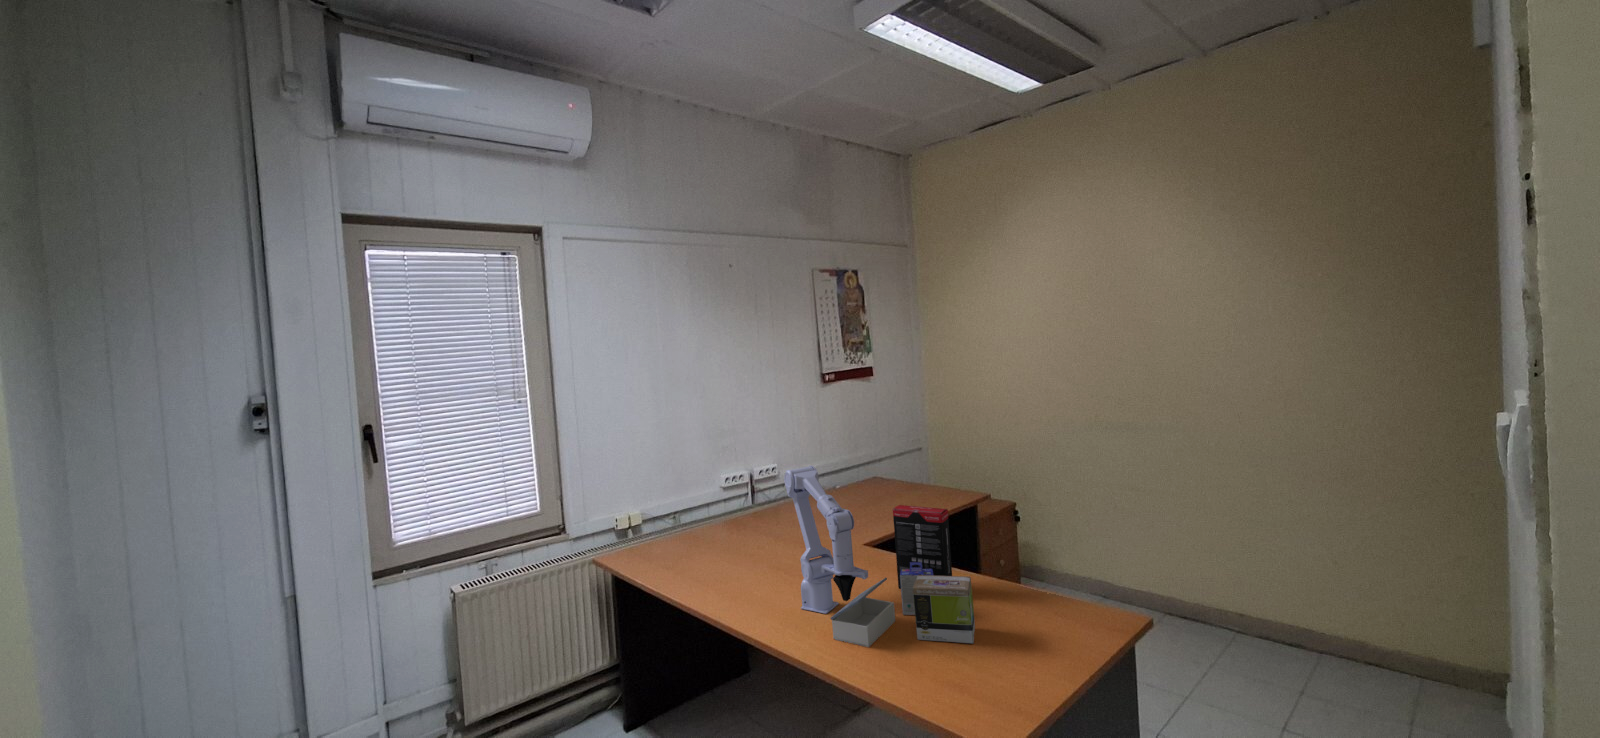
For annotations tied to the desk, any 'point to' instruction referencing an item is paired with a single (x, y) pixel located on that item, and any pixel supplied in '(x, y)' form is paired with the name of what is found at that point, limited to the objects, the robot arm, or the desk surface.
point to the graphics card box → (922, 539)
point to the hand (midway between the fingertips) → (846, 599)
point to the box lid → (858, 598)
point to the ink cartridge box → (910, 585)
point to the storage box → (864, 622)
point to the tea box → (944, 608)
